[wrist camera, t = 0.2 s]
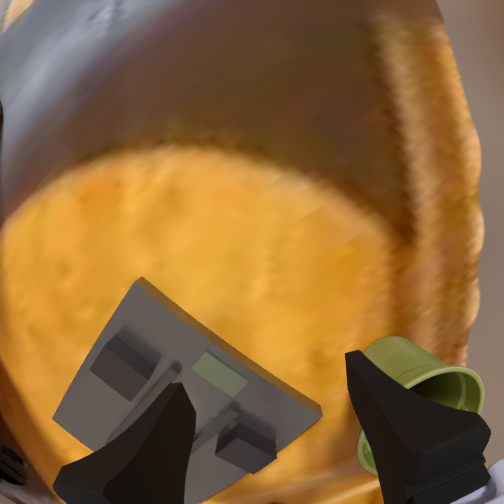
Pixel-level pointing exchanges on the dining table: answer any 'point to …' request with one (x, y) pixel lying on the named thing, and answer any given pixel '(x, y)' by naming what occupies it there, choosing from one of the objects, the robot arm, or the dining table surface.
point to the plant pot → (421, 381)
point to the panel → (196, 385)
